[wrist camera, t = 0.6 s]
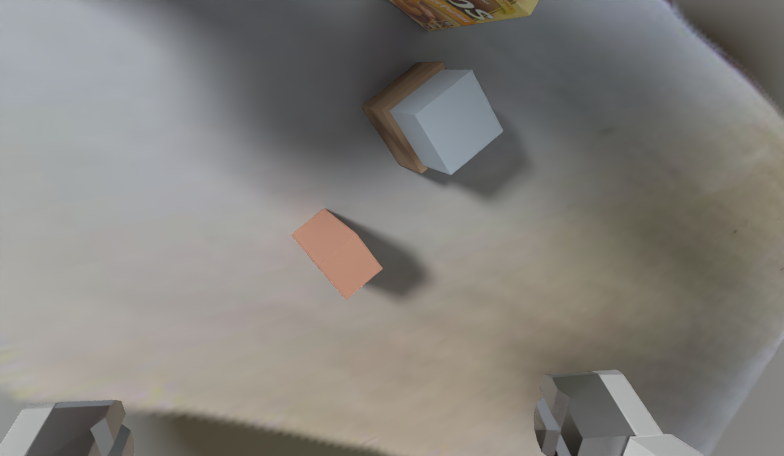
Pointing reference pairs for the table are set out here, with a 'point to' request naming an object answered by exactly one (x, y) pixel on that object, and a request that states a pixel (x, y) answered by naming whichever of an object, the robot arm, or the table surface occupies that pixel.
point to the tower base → (390, 98)
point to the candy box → (463, 11)
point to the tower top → (447, 120)
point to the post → (337, 252)
